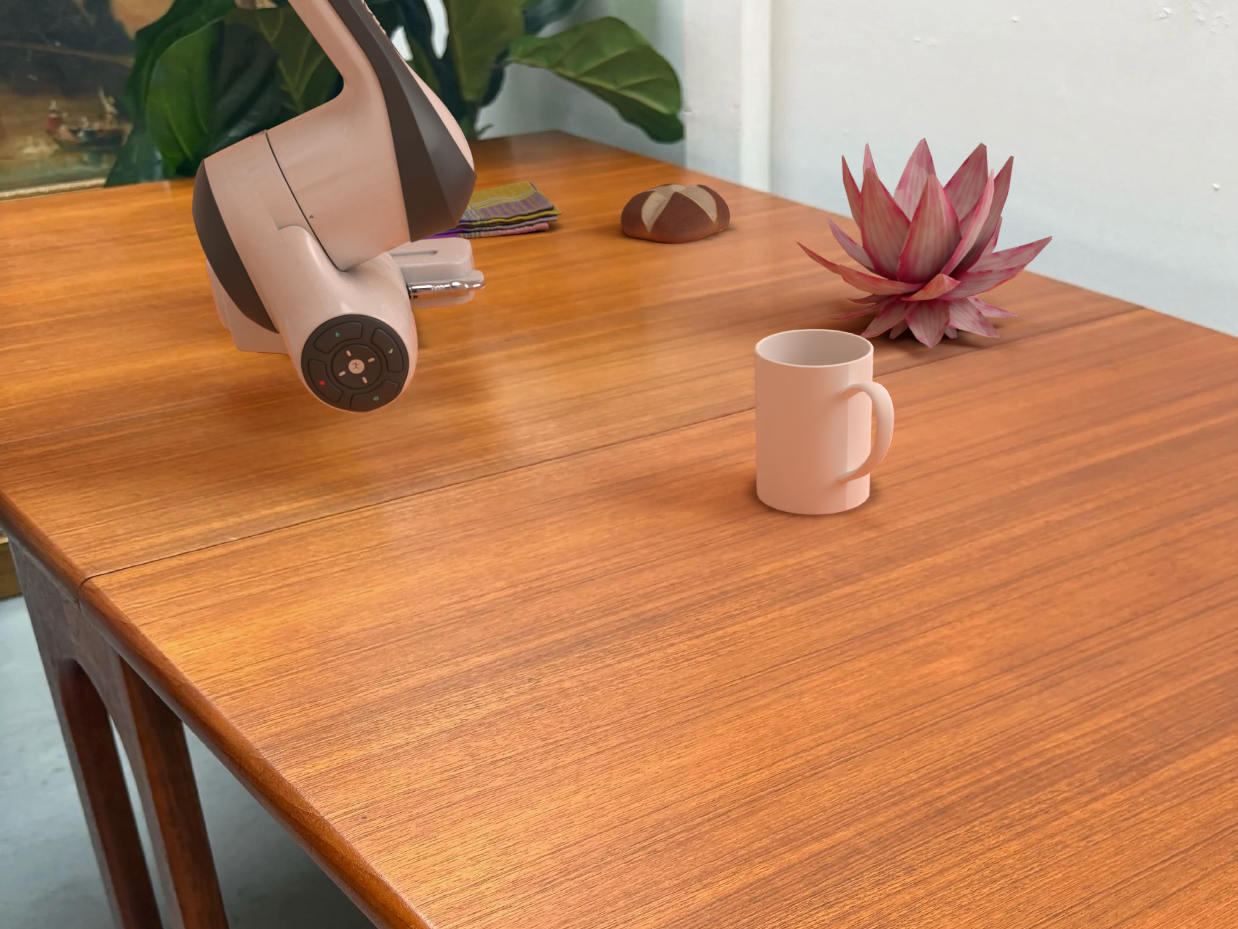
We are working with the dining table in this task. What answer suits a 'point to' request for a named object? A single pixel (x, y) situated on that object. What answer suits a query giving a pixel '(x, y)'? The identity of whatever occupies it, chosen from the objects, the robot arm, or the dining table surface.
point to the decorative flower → (929, 247)
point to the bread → (675, 214)
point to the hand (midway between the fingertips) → (341, 252)
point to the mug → (817, 420)
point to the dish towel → (504, 212)
